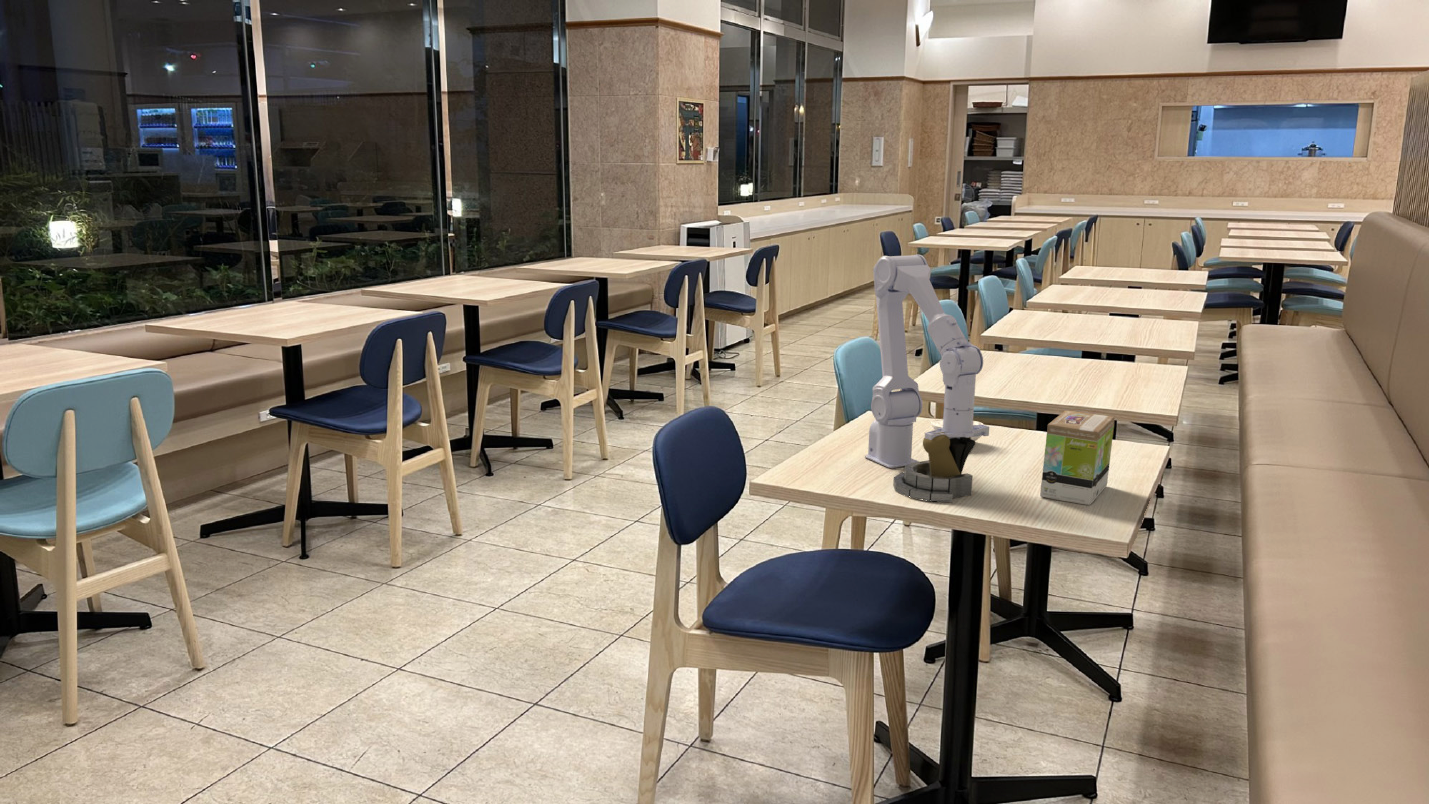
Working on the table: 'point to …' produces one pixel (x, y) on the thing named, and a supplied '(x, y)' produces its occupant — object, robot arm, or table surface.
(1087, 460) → the tea box
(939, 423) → the cell model
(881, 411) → the robot arm
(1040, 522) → the table surface
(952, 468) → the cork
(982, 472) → the table surface
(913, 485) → the hub collar
